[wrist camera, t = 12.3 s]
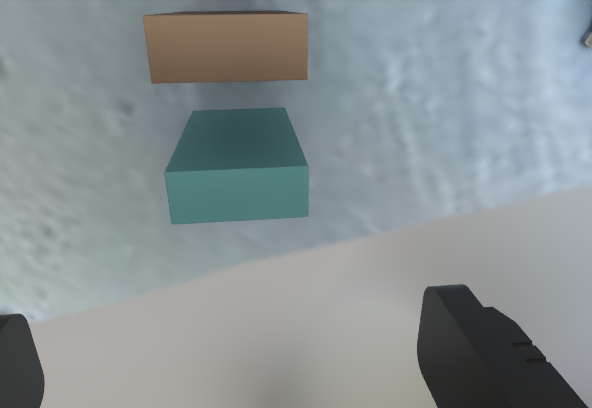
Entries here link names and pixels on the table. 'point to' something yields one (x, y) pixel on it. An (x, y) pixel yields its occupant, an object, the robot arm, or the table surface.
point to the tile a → (226, 46)
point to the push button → (589, 40)
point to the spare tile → (237, 168)
